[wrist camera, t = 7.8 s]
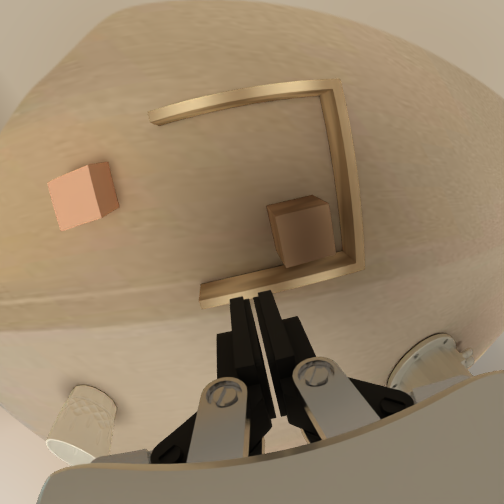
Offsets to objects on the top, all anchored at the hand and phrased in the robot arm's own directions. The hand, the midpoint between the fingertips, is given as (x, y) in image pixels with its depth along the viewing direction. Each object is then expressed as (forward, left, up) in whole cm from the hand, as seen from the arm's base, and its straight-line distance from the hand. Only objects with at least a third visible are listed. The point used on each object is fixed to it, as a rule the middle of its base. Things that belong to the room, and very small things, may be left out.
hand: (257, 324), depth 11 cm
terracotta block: (+11, -7, -13) cm, 19 cm away
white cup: (+24, +18, -13) cm, 33 cm away
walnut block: (-5, 0, -13) cm, 14 cm away
